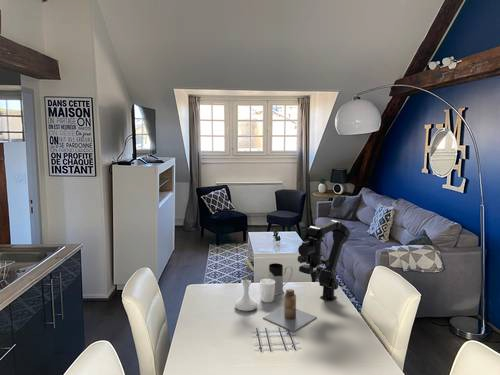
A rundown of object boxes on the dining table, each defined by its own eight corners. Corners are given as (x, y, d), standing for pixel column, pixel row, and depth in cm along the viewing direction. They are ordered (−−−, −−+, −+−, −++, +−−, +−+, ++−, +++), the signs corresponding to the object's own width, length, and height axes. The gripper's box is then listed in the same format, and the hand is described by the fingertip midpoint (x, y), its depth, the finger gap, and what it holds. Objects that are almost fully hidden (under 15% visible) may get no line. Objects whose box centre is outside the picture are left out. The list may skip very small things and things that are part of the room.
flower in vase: (257, 313, 186) (257, 263, 182) (234, 313, 186) (233, 263, 182) (257, 301, 199) (257, 255, 195) (235, 301, 199) (235, 254, 195)
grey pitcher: (265, 289, 214) (265, 263, 211) (288, 286, 218) (289, 261, 216) (270, 295, 205) (271, 269, 203) (295, 292, 210) (295, 266, 207)
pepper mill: (293, 313, 184) (293, 287, 182) (297, 318, 179) (297, 292, 177) (282, 315, 183) (282, 289, 181) (287, 320, 177) (287, 293, 176)
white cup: (275, 296, 204) (275, 278, 203) (274, 303, 197) (275, 284, 195) (260, 296, 205) (260, 278, 204) (259, 302, 197) (259, 284, 196)
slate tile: (286, 306, 193) (286, 305, 193) (316, 318, 181) (316, 316, 181) (263, 318, 181) (263, 317, 180) (293, 332, 168) (293, 331, 168)
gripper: (312, 244, 201) (311, 272, 203) (290, 252, 188) (289, 282, 190) (330, 249, 193) (329, 278, 196) (309, 257, 180) (308, 289, 182)
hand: (314, 281), depth 191 cm, fingers closed
